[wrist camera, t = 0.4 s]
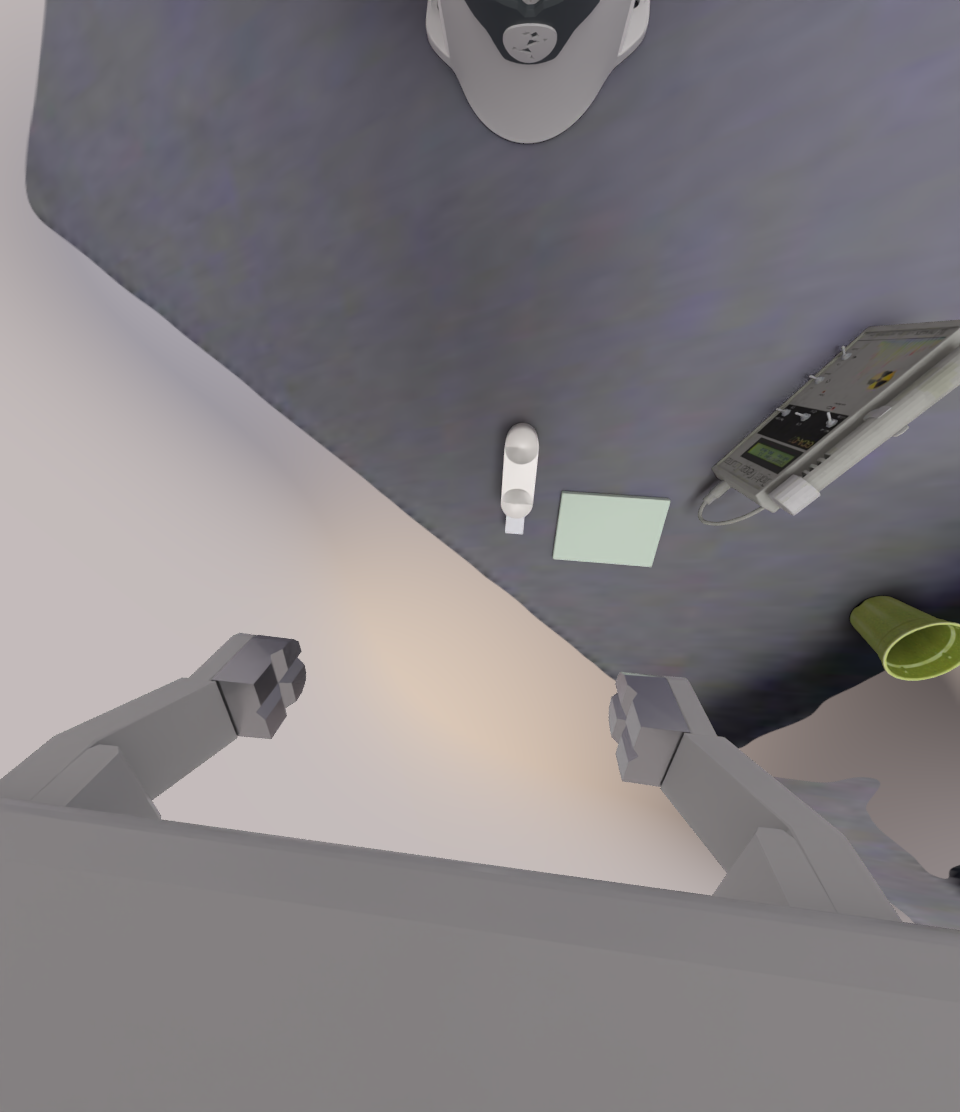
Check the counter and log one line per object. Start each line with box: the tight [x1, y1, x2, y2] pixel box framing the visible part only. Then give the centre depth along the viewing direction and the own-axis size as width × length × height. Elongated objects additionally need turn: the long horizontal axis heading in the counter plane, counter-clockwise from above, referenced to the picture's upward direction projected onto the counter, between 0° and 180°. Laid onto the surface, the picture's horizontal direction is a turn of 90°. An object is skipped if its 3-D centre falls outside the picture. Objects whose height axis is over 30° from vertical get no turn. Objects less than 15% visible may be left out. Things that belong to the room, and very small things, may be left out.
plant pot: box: [850, 596, 960, 681], centre depth 52 cm, size 9×9×9 cm
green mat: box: [553, 491, 670, 567], centre depth 54 cm, size 10×14×1 cm
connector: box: [501, 423, 539, 534], centre depth 50 cm, size 14×4×5 cm, turn 178°
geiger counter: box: [698, 320, 960, 526], centre depth 40 cm, size 14×6×25 cm
